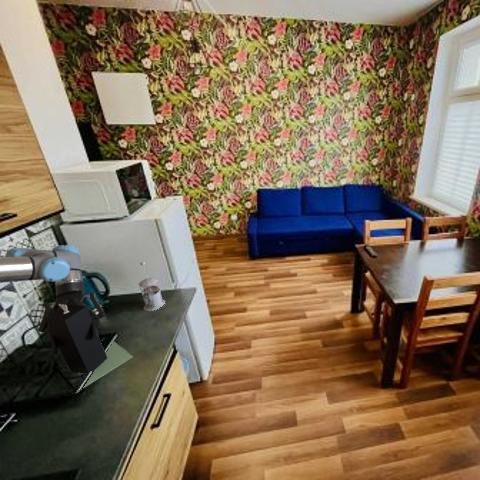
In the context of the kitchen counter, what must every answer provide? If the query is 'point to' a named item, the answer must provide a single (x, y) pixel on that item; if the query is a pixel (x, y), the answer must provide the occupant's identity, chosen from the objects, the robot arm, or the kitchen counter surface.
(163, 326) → the kitchen counter surface
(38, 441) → the kitchen counter surface
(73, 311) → the tissue box
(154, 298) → the french press
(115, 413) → the kitchen counter surface
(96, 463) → the kitchen counter surface
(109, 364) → the mat
